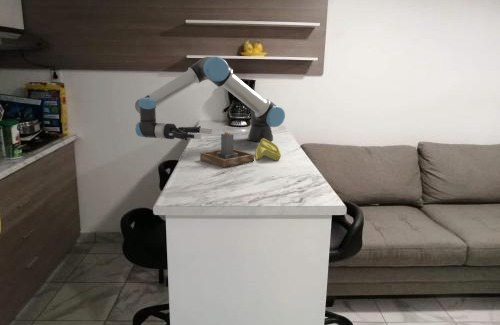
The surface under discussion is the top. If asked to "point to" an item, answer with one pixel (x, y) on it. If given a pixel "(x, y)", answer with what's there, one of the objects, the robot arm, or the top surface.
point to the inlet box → (227, 158)
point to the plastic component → (267, 150)
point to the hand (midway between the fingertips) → (206, 133)
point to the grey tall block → (227, 143)
